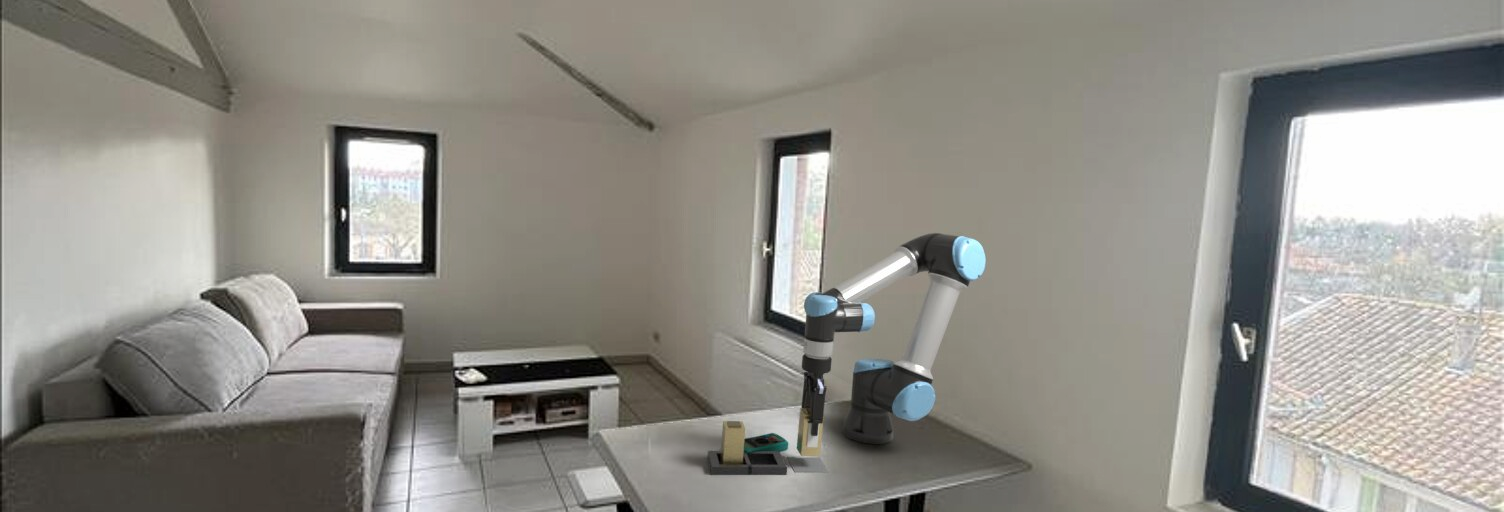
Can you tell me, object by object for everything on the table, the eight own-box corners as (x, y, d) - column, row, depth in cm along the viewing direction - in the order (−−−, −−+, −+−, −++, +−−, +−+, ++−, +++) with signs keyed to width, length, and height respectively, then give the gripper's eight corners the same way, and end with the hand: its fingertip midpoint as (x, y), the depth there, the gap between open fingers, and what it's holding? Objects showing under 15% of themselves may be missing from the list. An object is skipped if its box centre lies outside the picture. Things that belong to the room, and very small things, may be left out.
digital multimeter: (789, 450, 187) (790, 440, 186) (746, 460, 178) (747, 449, 177) (773, 440, 193) (774, 430, 192) (730, 450, 184) (731, 439, 183)
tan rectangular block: (814, 448, 180) (818, 407, 179) (819, 456, 175) (823, 413, 174) (796, 448, 179) (800, 406, 178) (801, 455, 174) (805, 413, 173)
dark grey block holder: (778, 460, 181) (779, 451, 180) (786, 476, 171) (787, 467, 170) (707, 460, 177) (708, 450, 177) (711, 476, 167) (712, 467, 167)
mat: (819, 459, 183) (819, 457, 183) (828, 474, 174) (828, 471, 174) (787, 459, 181) (787, 457, 181) (794, 474, 173) (794, 471, 173)
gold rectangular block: (739, 462, 176) (742, 419, 175) (742, 470, 171) (745, 427, 170) (720, 462, 175) (723, 419, 174) (722, 470, 170) (725, 426, 169)
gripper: (795, 346, 183) (787, 429, 185) (812, 364, 165) (803, 456, 168) (822, 347, 184) (814, 429, 187) (841, 365, 166) (832, 456, 169)
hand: (809, 442), depth 177 cm, fingers closed on tan rectangular block, 5 cm apart
